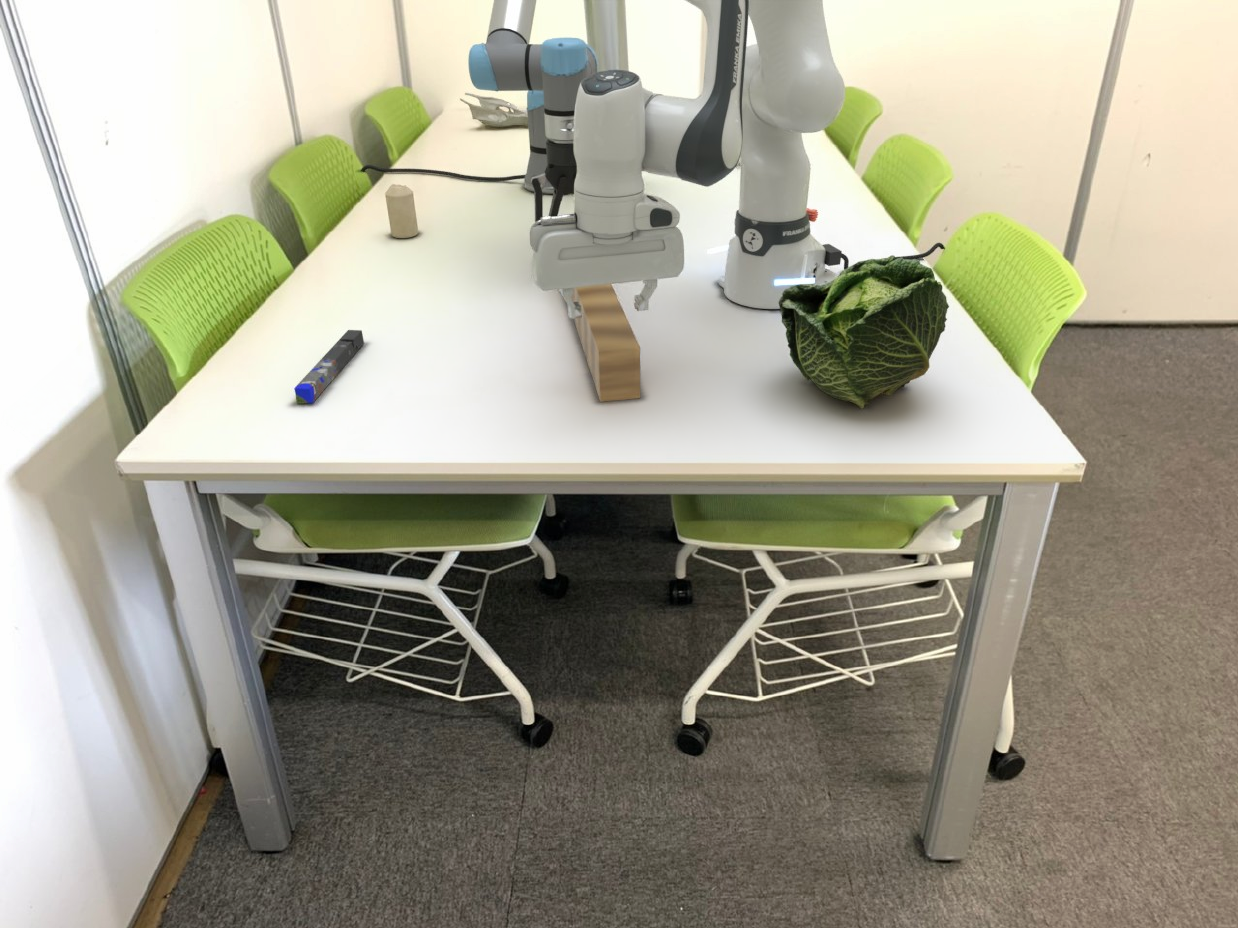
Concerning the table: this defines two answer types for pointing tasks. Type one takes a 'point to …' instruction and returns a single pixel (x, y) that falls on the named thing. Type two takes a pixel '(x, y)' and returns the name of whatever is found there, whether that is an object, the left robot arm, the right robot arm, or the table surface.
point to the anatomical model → (496, 112)
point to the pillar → (328, 367)
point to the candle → (401, 211)
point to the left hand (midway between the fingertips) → (573, 268)
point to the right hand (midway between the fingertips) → (608, 313)
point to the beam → (608, 343)
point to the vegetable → (865, 327)
